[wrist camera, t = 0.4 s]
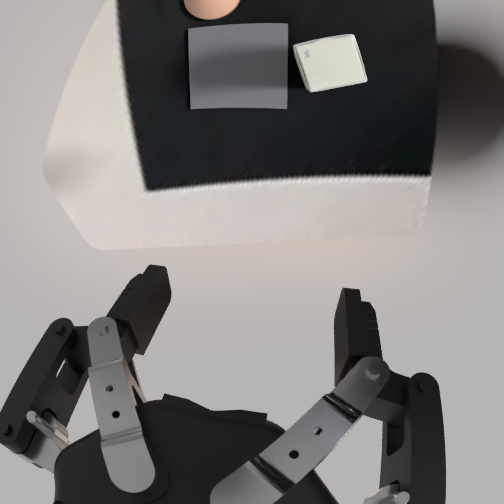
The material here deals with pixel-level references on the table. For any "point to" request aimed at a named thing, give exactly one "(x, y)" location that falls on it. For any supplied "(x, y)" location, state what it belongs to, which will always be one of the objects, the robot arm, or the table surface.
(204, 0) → the glossy peach dome
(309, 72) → the box
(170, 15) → the table surface
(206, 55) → the mat
